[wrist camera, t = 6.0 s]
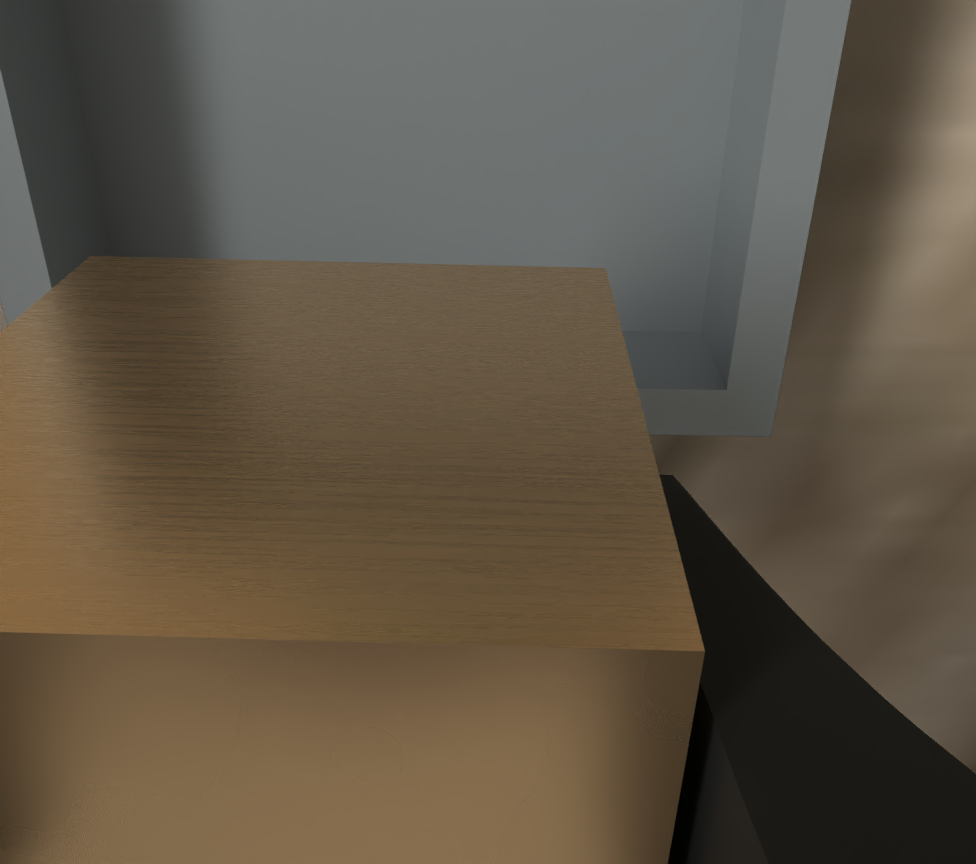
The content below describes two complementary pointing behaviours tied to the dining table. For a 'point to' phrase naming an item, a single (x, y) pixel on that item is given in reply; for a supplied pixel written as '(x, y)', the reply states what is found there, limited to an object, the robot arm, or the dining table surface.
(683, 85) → the tote
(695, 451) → the dining table surface
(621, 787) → the brown box
